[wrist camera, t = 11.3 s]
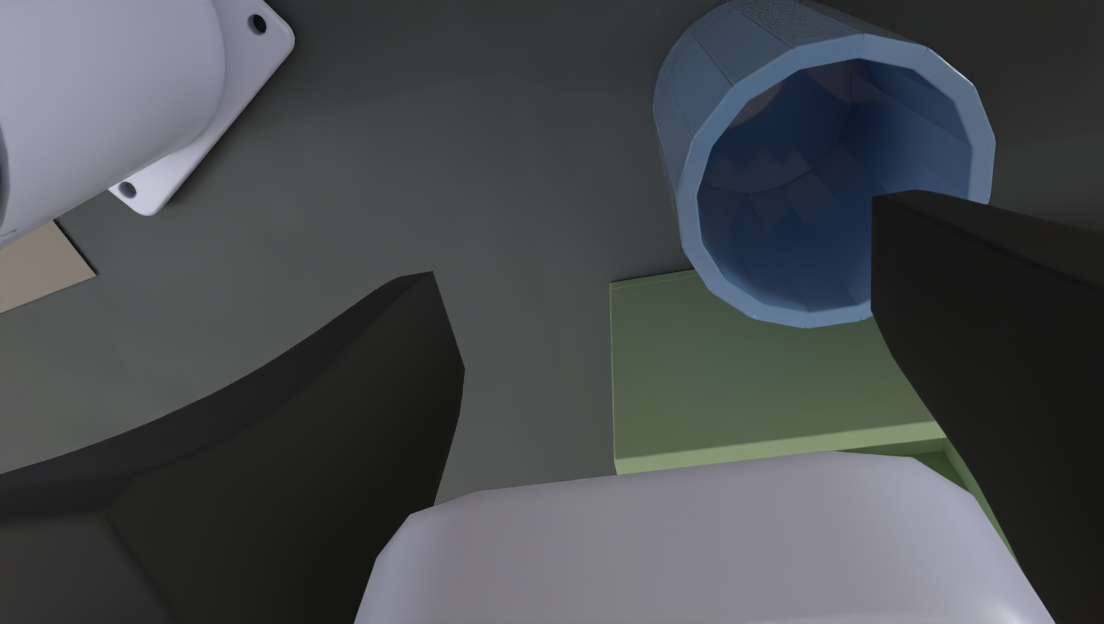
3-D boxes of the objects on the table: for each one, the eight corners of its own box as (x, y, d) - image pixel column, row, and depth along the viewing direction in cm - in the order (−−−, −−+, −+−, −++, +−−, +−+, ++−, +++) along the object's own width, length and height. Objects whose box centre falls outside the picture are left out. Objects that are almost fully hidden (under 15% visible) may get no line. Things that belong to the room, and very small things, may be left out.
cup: (666, 214, 21) (694, 345, 15) (638, 18, 19) (659, 75, 12) (859, 180, 20) (980, 305, 14) (860, -30, 18) (1011, 2, 11)
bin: (609, 282, 23) (613, 460, 15) (969, 224, 21) (1170, 393, 14) (648, 484, 27) (666, 699, 20) (950, 450, 25) (1094, 671, 18)
